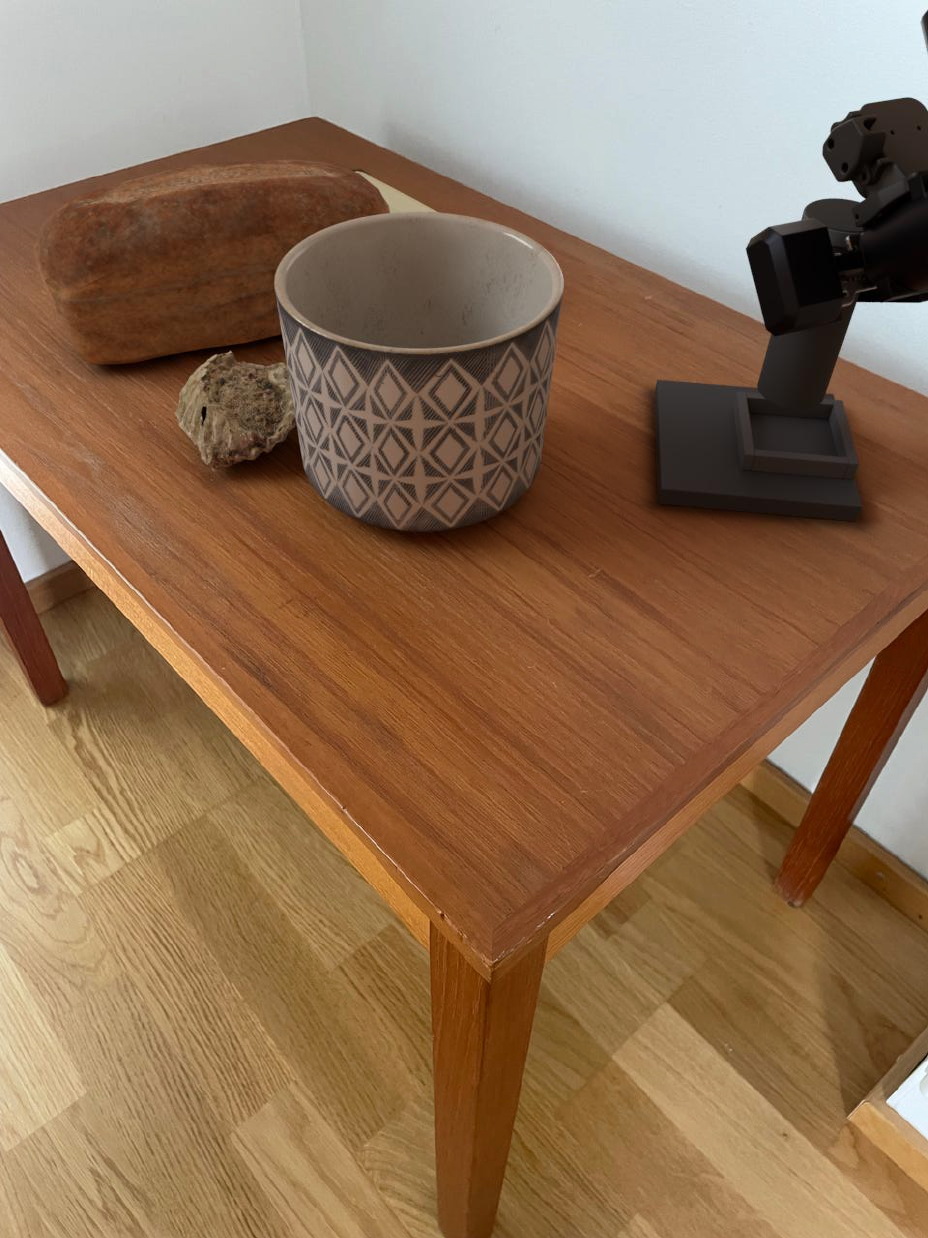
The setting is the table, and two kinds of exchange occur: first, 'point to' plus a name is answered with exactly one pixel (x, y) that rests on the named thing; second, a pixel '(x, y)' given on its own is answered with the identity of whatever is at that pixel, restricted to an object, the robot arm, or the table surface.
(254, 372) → the seashell
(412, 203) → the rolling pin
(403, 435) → the planter
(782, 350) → the dark grey cylinder
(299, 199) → the bread
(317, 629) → the table surface
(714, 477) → the base pad
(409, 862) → the table surface
